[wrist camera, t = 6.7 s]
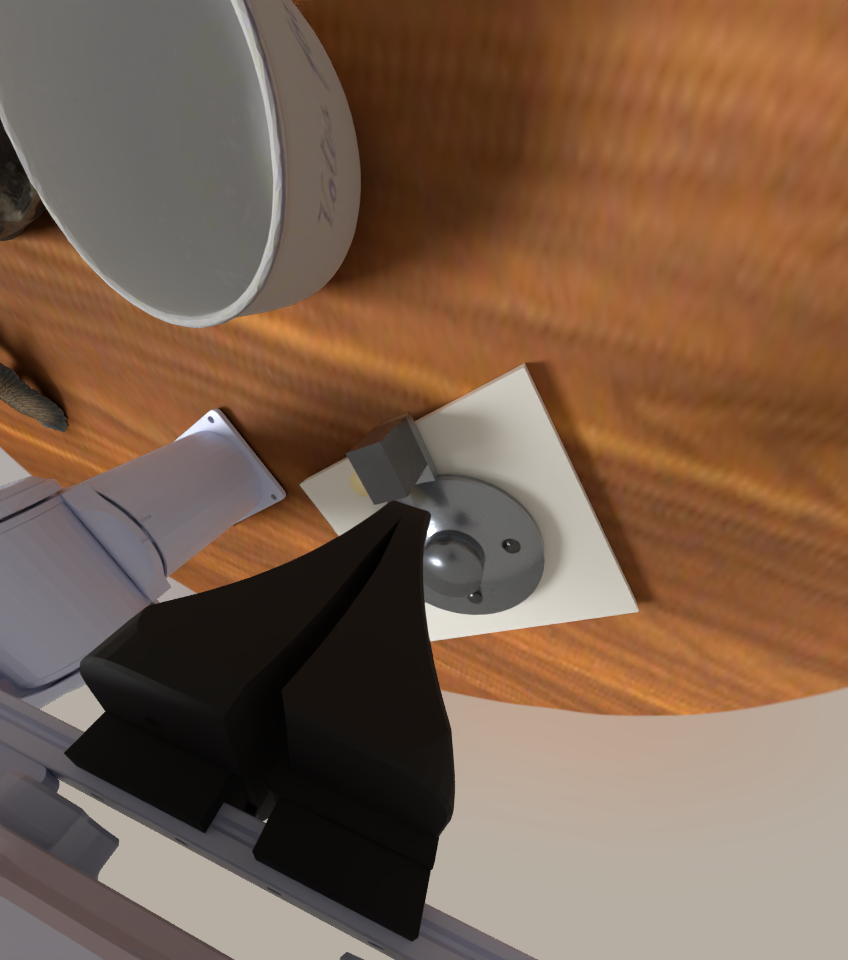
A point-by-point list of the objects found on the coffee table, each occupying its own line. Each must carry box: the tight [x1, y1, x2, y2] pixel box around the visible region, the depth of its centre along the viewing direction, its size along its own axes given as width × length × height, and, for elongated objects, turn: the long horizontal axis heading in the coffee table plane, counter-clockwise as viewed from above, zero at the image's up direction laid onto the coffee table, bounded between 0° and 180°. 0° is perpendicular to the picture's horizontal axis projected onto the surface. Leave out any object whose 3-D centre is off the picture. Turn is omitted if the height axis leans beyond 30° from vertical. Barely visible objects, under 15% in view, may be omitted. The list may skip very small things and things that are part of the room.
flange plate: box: [346, 412, 545, 615], centre depth 20 cm, size 15×11×4 cm
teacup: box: [0, 0, 361, 328], centre depth 13 cm, size 14×11×8 cm
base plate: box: [299, 363, 639, 641], centre depth 22 cm, size 17×17×4 cm
